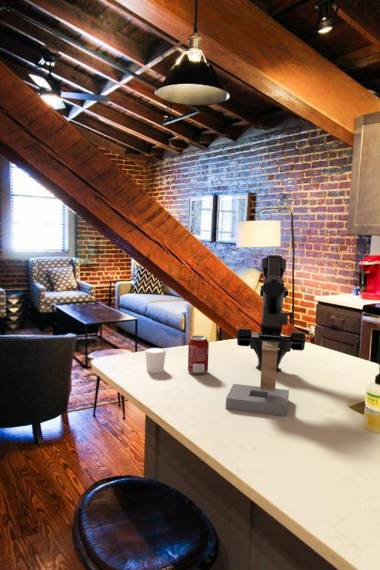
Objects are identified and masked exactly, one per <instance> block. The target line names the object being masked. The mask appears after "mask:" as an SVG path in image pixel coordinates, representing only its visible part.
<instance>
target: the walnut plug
mask: <svg viewBox="0 0 380 570" xmlns="http://www.w3.org/2000/svg"><path fill="white" fill-rule="evenodd" d="M277 351H278V342H266V341H263V343H262V365H261V370H260V386H259V387H260V390H268V391H275V389H276V384H277V383H276V381H277V371H276V367H277Z"/></svg>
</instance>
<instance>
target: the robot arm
mask: <svg viewBox="0 0 380 570" xmlns="http://www.w3.org/2000/svg"><path fill="white" fill-rule="evenodd" d="M286 271H287V259H285V258H283V257H282V256H281V255H279V254H278V255H277V254H268V255H267V256H265V257H264V258H262V259H261V272H262V273H263V284H262V285H260V291H259V292H260V293H259V294H260V295H259V297H260V298H262V313H261V322H260V330H259V332H253V330H252V328H243V327H238V329H237V330H236V331H237V332H236V341H237V342H236V344H237V345H238V346H240V347H249V348H250V350H253V351H254V353H255V355H256V357H257V360H258V361H257V365H256V366H255V368H256V369H257V370H260V371H261V365H262V343H263V341H266V342H278V351H277V367H276V372H279V371H282V368H280V367H279V366H280V364H281V362H282V359H283V358H284V357H285V355H287V353H289V352H291V350H292V351H300V352H301V351H304V350H305V345H306V333H305V332H301V331H290V336H288V335H282V332H283V326H285V327H286V326H288V317H289V315H288V314H289V313H288V312H283V303H284V299H287V297H289V290H288V289H287V287H286V286H285V280H284V273H286Z"/></svg>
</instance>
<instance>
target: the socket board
mask: <svg viewBox="0 0 380 570" xmlns="http://www.w3.org/2000/svg"><path fill="white" fill-rule="evenodd" d="M289 394H290V390H289V389H285V388H284V389H282V388H275V391H268V390H260V386H257V385H248V384H241V383H238V384H237V383H233V384H232V386H231V387H230V390H229V392H228V394H227V396H226V399H225V410H232V411H233V410H234V411H239V412H240V411H241V412H248V413H256V414H257V413H258V414H264V415H272V416H281V417H287V413H288V407H289V406H288V404H289V399H290V398H289Z"/></svg>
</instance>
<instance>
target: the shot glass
mask: <svg viewBox="0 0 380 570" xmlns="http://www.w3.org/2000/svg"><path fill="white" fill-rule="evenodd" d="M166 352H167V351H166V349H164V348H160V347H149V348H146V349H145V363H146V371H147V372H148V373H152V374H159V373H162V372H164V369H165V362H166V361H165V360H166Z"/></svg>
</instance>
